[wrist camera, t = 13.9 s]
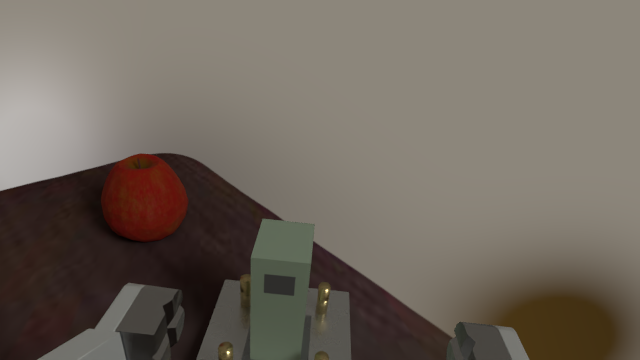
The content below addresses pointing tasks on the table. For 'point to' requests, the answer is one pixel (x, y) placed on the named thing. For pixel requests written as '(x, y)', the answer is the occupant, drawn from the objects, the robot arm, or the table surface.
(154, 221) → the apple
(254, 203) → the table surface
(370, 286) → the table surface
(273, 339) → the block
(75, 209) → the table surface
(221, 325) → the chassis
